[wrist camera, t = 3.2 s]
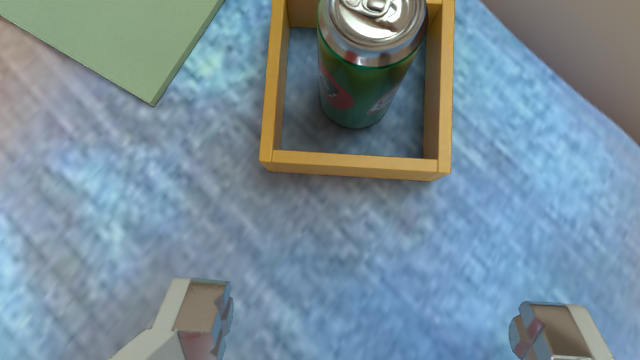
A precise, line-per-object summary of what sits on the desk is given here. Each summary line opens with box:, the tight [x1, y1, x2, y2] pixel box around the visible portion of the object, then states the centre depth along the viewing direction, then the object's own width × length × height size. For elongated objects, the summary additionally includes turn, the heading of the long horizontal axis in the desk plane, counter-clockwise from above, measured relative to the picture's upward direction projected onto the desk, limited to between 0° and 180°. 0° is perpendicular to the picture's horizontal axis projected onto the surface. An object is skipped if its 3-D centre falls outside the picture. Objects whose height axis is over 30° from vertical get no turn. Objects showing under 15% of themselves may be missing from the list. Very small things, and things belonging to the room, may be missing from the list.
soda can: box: [316, 0, 429, 129], centre depth 23 cm, size 5×5×12 cm
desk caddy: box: [259, 0, 455, 181], centre depth 27 cm, size 12×12×4 cm
